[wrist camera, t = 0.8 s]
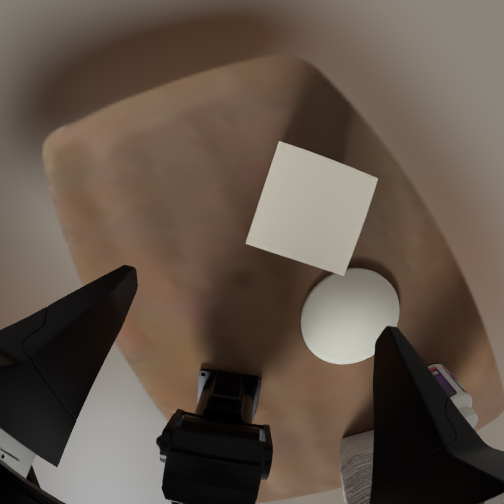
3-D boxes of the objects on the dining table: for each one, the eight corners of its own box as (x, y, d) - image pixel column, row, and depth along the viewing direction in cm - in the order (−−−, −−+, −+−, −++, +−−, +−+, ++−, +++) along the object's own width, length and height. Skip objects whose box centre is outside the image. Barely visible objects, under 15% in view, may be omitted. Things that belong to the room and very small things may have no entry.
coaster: (381, 361, 28) (383, 365, 27) (292, 356, 28) (292, 361, 28) (406, 273, 26) (410, 275, 25) (310, 261, 26) (311, 263, 25)
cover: (317, 245, 26) (343, 276, 17) (252, 224, 26) (245, 243, 16) (338, 182, 25) (378, 178, 15) (274, 159, 25) (279, 140, 15)
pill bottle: (403, 399, 29) (433, 452, 20) (417, 364, 28) (455, 415, 19) (437, 394, 29) (469, 441, 20) (451, 360, 28) (491, 404, 18)
